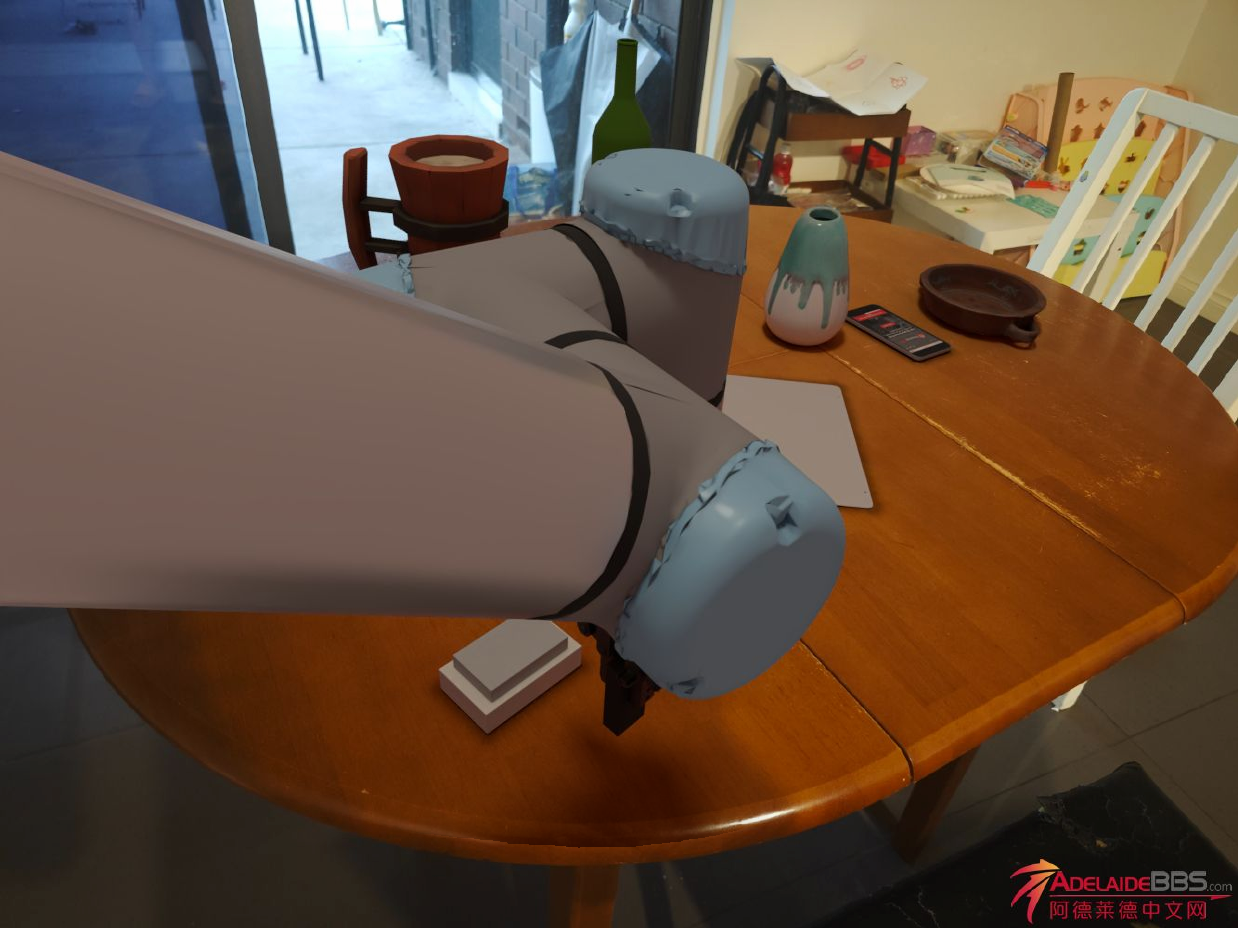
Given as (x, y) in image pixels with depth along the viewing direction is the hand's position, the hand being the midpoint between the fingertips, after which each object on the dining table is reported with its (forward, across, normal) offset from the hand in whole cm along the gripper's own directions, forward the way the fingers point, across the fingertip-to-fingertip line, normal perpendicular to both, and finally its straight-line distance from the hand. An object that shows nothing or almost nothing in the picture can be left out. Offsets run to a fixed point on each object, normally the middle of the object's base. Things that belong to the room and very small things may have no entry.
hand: (623, 719), depth 60 cm
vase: (+7, +31, -69) cm, 76 cm away
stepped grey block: (+6, +12, 0) cm, 13 cm away
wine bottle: (+7, +66, -67) cm, 94 cm away
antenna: (+7, +20, -44) cm, 49 cm away
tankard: (+6, +62, -31) cm, 70 cm away
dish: (+7, +17, -95) cm, 96 cm away
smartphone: (+7, +22, -80) cm, 83 cm away
